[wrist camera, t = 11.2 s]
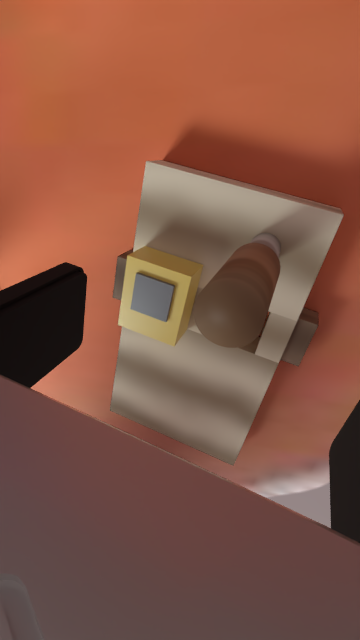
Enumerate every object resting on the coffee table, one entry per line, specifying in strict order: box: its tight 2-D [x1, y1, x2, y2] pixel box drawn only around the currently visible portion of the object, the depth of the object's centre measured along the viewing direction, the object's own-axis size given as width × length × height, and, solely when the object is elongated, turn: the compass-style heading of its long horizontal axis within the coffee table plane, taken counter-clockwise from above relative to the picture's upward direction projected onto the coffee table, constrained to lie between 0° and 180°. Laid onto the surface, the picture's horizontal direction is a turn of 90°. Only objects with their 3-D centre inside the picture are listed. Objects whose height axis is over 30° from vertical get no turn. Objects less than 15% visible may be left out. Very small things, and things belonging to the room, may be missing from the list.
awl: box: [193, 233, 281, 348], centre depth 19 cm, size 3×3×12 cm
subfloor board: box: [110, 160, 344, 465], centre depth 31 cm, size 25×17×3 cm
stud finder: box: [118, 246, 203, 347], centre depth 27 cm, size 6×5×3 cm
